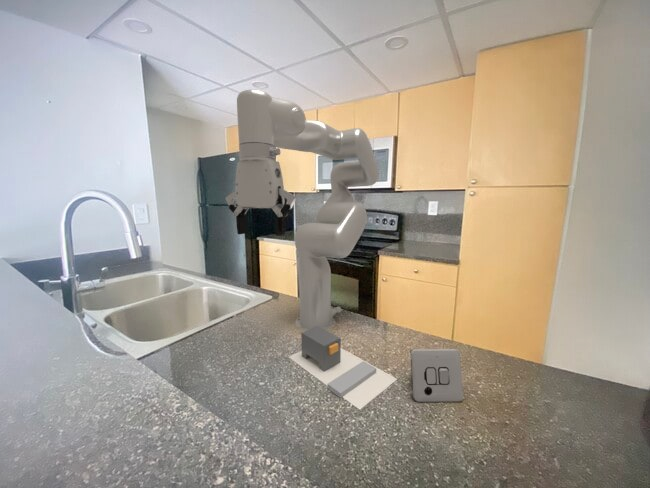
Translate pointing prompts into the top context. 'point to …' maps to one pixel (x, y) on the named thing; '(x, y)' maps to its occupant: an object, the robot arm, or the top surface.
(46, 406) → the top surface
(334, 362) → the block
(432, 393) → the electrical switch
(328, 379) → the plate
